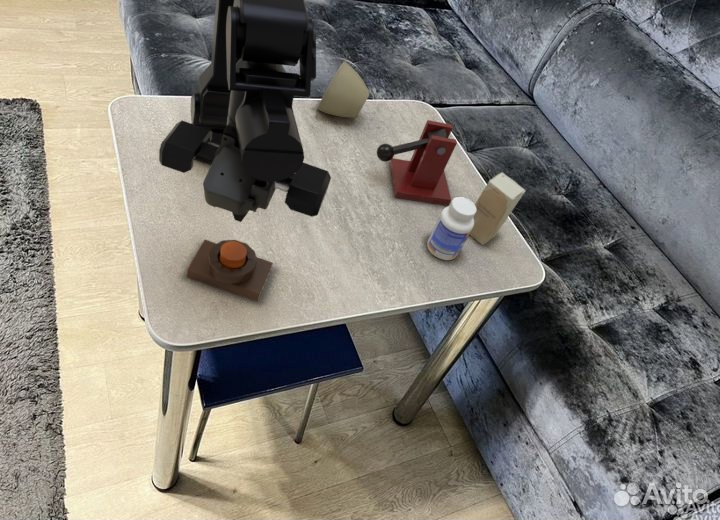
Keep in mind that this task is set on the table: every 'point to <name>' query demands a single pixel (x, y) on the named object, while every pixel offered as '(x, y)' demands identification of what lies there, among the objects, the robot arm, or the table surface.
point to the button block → (230, 271)
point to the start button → (233, 254)
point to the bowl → (344, 93)
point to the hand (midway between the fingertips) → (239, 219)
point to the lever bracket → (425, 168)
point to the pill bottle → (452, 229)
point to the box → (495, 207)
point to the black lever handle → (405, 146)
